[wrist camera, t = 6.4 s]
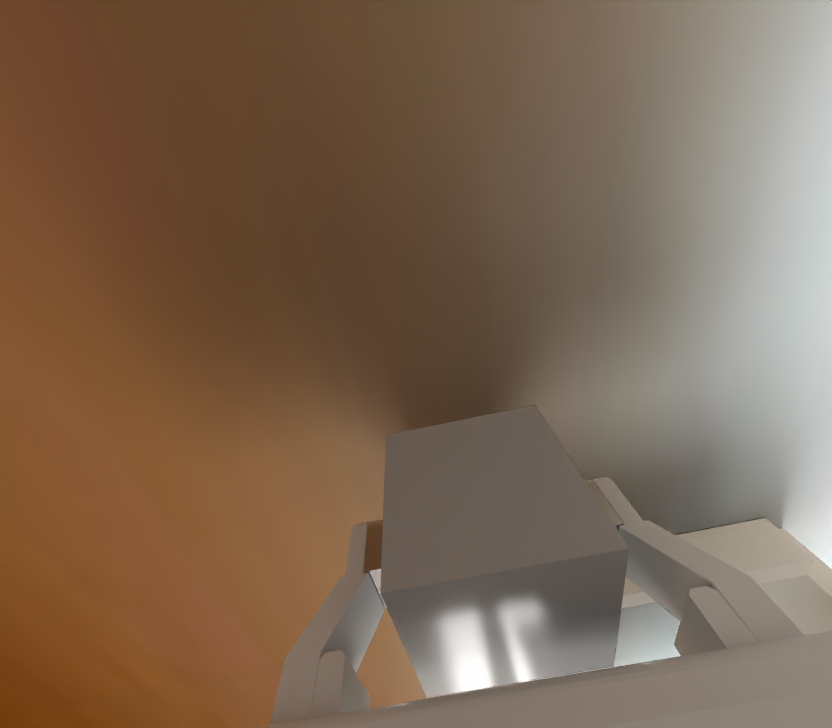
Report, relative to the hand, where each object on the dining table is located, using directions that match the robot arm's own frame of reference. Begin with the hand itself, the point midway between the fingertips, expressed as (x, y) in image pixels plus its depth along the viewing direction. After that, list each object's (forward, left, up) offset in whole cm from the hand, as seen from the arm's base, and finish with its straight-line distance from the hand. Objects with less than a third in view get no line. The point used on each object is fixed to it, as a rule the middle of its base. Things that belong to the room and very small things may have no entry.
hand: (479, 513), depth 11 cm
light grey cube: (0, 0, -2) cm, 2 cm away
